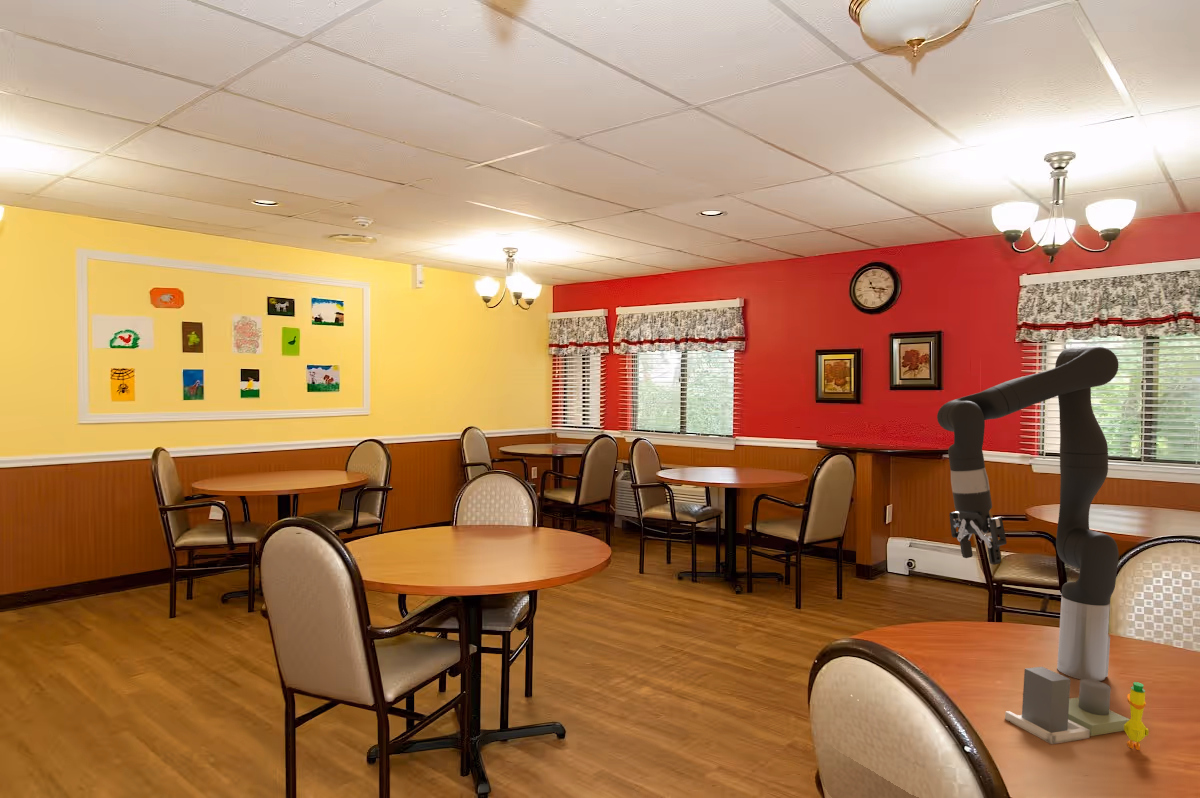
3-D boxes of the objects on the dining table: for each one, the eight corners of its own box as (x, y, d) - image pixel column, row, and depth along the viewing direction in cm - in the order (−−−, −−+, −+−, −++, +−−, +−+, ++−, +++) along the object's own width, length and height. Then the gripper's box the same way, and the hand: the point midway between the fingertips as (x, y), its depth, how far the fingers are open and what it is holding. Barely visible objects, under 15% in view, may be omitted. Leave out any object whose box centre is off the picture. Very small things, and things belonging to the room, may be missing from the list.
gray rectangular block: (1039, 716, 142) (1042, 666, 142) (1067, 731, 137) (1070, 679, 136) (1021, 719, 141) (1024, 668, 141) (1049, 733, 135) (1052, 681, 135)
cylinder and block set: (1080, 706, 149) (1082, 673, 149) (1132, 730, 139) (1134, 694, 139) (1002, 717, 142) (1004, 682, 142) (1051, 744, 132) (1053, 706, 132)
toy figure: (1118, 736, 136) (1122, 673, 136) (1141, 741, 135) (1145, 677, 134) (1125, 751, 130) (1129, 686, 130) (1149, 757, 129) (1154, 691, 128)
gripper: (1008, 488, 156) (1020, 563, 156) (962, 484, 170) (972, 552, 170) (979, 494, 155) (990, 569, 154) (935, 489, 169) (945, 558, 168)
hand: (981, 560), depth 162 cm, fingers open, 8 cm apart
